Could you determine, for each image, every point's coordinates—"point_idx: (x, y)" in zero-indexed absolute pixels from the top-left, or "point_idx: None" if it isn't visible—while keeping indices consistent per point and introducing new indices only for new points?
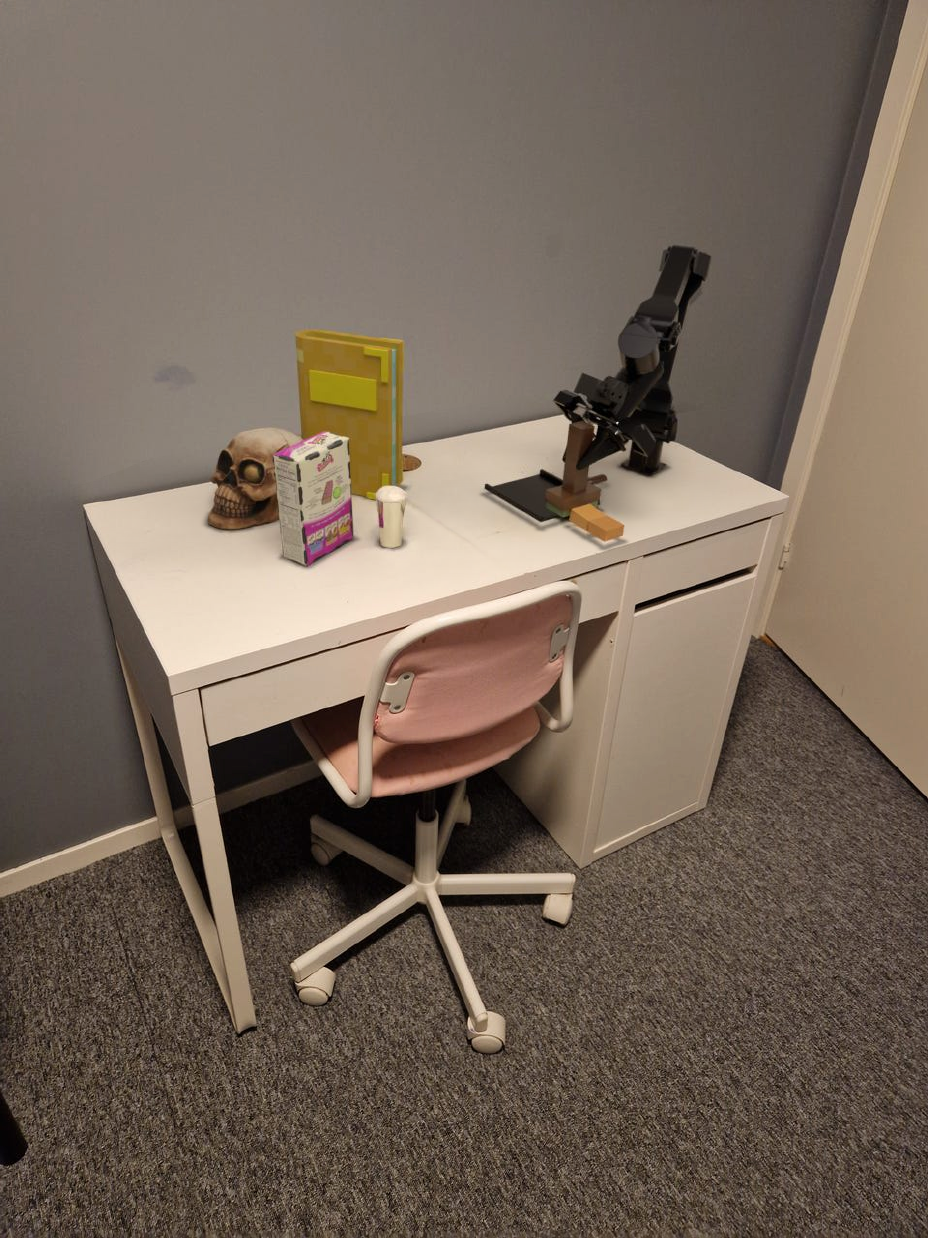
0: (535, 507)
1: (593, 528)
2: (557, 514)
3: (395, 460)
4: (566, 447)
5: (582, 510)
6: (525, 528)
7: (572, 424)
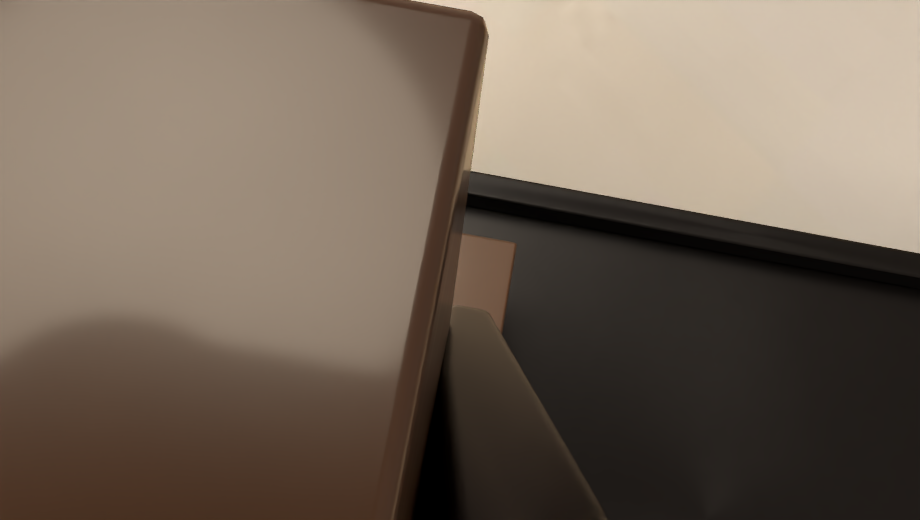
0: (595, 321)
1: None
2: None
3: None
4: (527, 400)
5: None
6: (485, 132)
7: (323, 41)
